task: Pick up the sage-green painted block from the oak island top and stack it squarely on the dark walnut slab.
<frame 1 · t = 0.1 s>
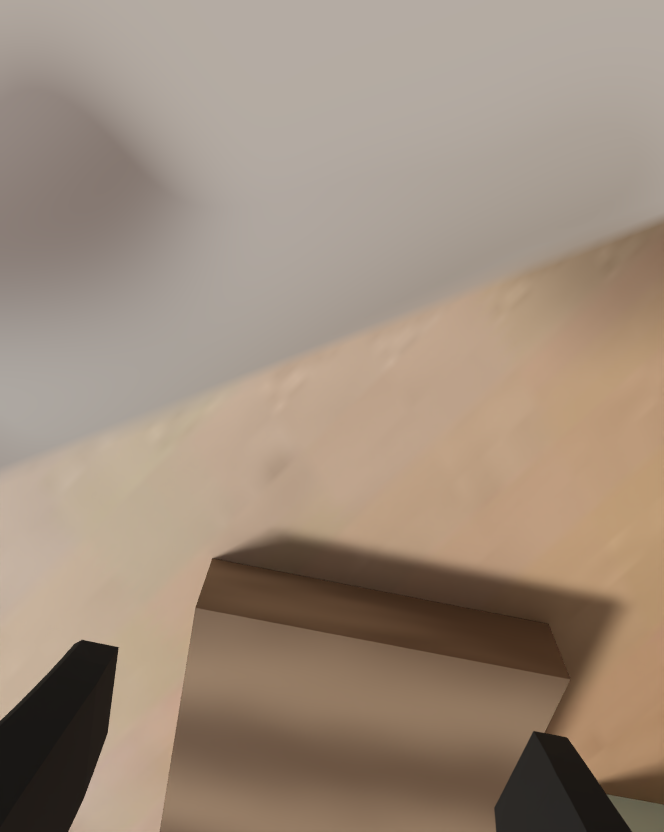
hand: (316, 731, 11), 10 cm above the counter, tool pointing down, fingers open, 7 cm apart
sage block: (603, 831, 27), on the counter
walnut slab: (345, 703, 25), on the counter
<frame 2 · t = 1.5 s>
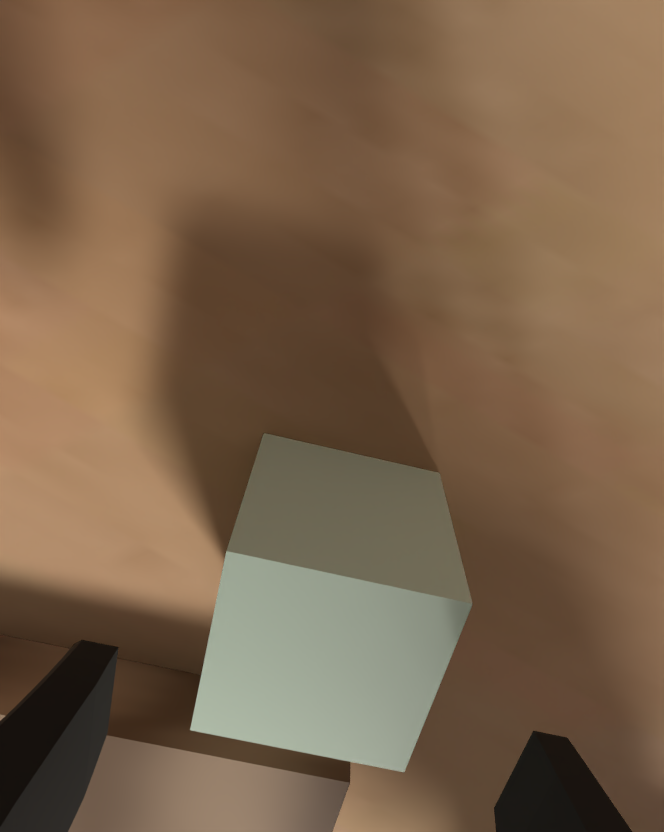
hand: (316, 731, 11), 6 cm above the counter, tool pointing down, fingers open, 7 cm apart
sage block: (331, 526, 17), on the counter
walnut slab: (136, 785, 22), on the counter
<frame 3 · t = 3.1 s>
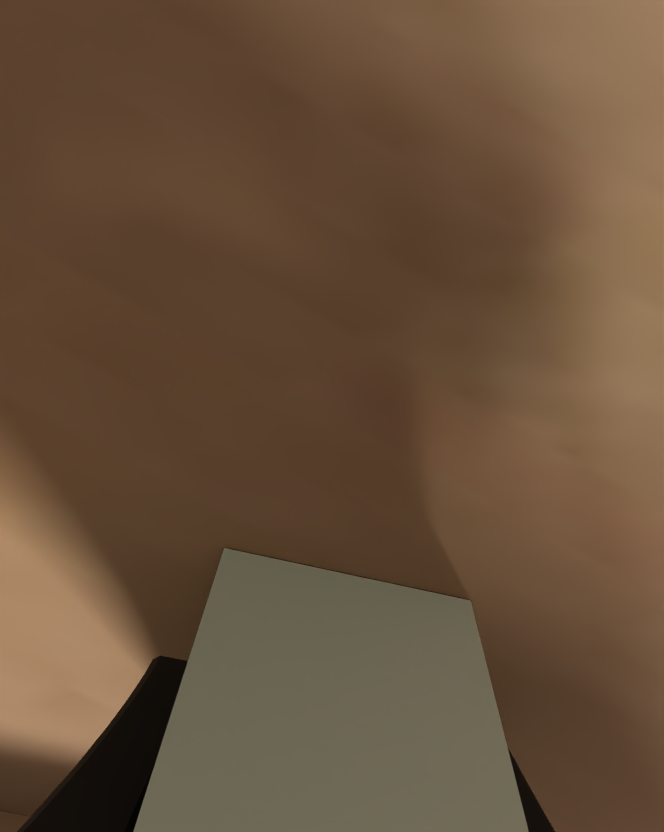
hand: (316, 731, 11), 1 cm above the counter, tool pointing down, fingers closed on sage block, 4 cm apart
sage block: (320, 667, 12), on the counter, touching gripper
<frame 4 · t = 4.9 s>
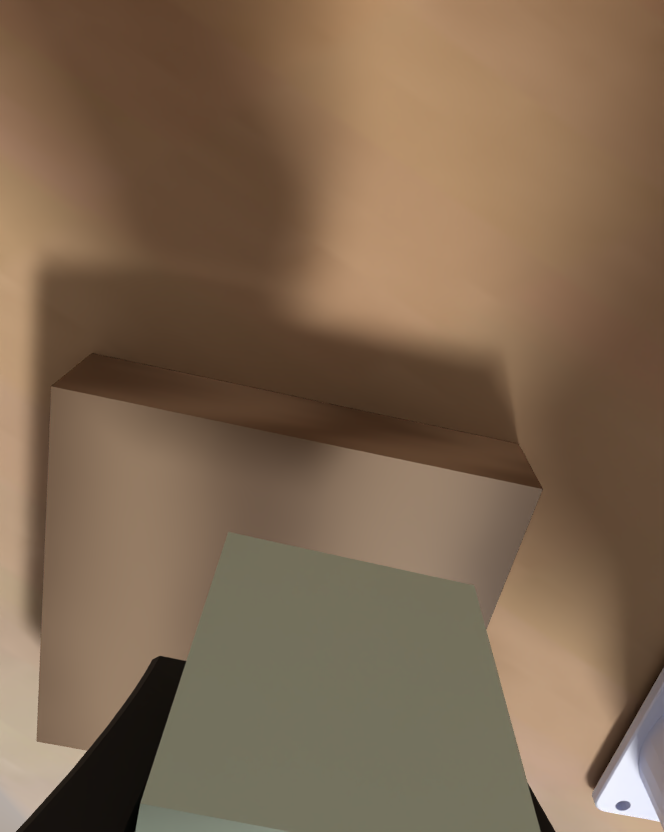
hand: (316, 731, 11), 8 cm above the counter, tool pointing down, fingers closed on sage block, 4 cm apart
sage block: (324, 653, 12), point 7 cm above the counter, touching gripper
walnut slab: (273, 563, 20), on the counter
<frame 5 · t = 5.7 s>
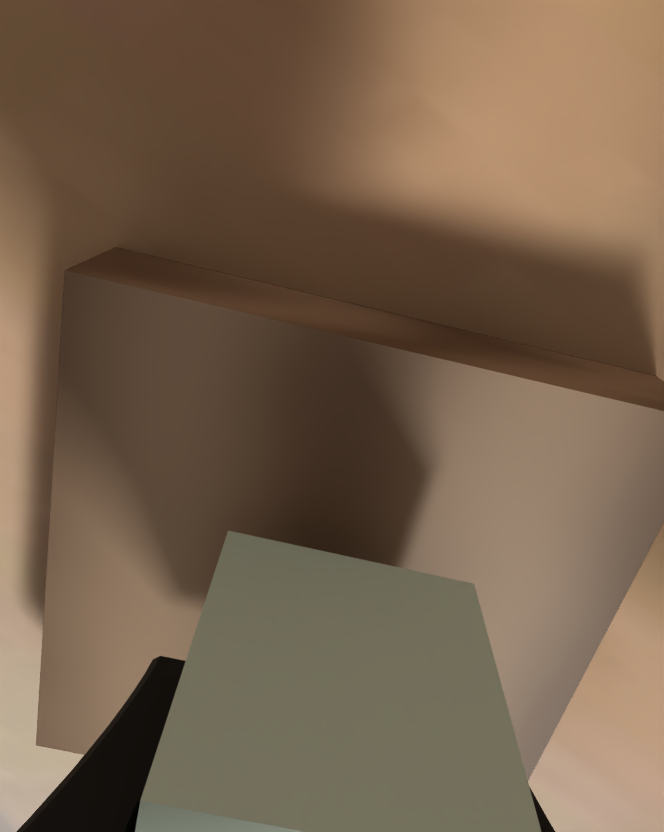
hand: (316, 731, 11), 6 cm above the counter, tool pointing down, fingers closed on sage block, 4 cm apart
sage block: (324, 652, 12), point 4 cm above the counter, touching gripper
walnut slab: (330, 529, 17), on the counter
when the fingers open (5 cm above the counter, at t = 6.6 s): sage block drops 1 cm, point 2 cm above the counter.
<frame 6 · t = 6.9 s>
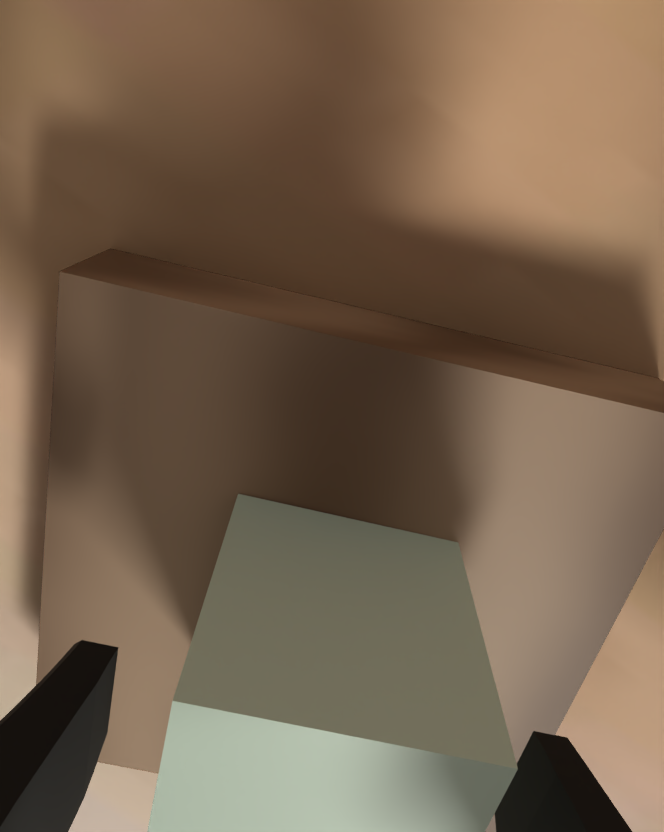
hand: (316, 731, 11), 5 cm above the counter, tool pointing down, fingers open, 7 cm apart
sage block: (323, 605, 14), point 2 cm above the counter
walnut slab: (329, 532, 16), on the counter
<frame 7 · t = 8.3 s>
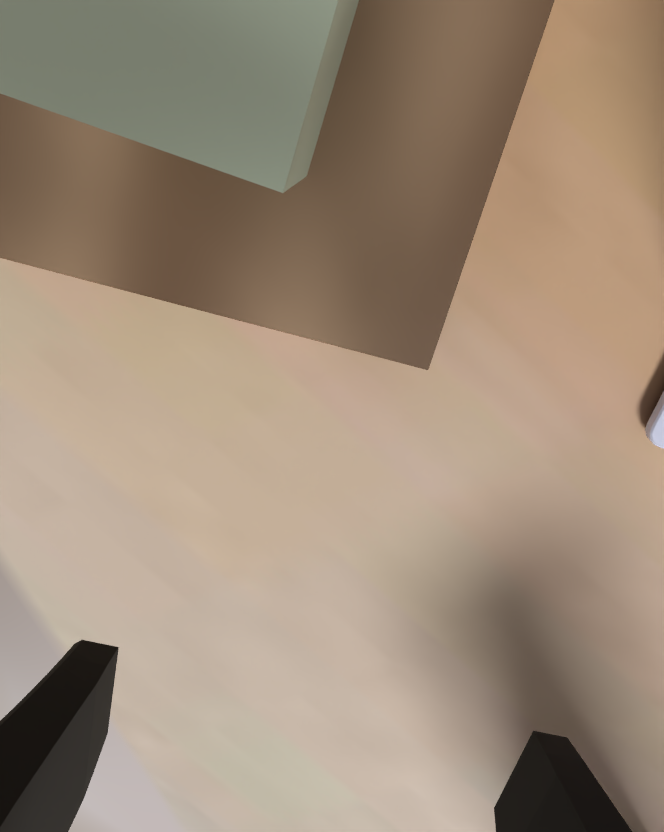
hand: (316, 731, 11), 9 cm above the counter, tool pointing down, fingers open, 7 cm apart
sage block: (233, 25, 13), point 2 cm above the counter, touching walnut slab
walnut slab: (257, 43, 16), on the counter, touching sage block
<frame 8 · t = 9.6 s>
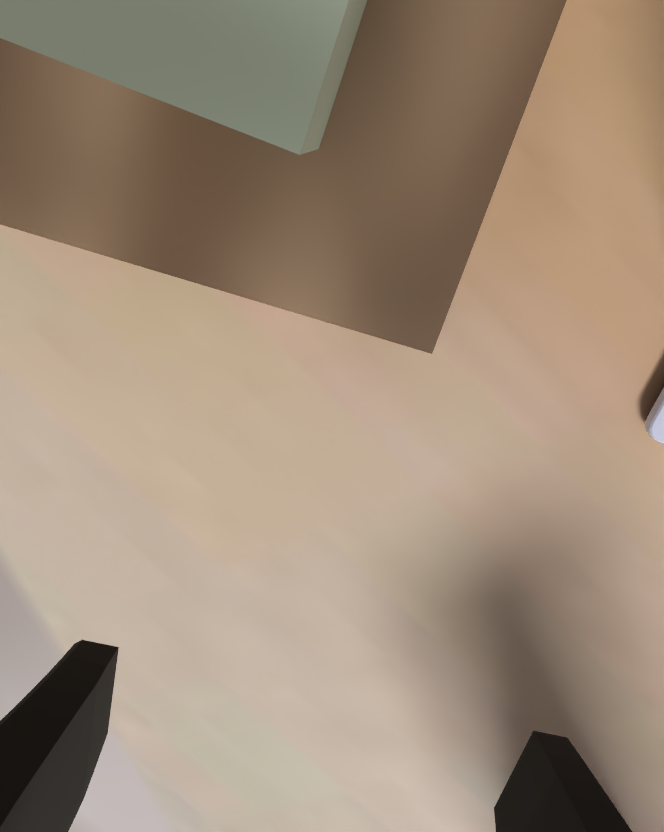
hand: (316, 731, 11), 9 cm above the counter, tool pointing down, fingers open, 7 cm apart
walnut slab: (268, 16, 15), on the counter
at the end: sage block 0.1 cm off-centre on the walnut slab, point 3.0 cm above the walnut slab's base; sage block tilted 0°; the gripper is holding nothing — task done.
